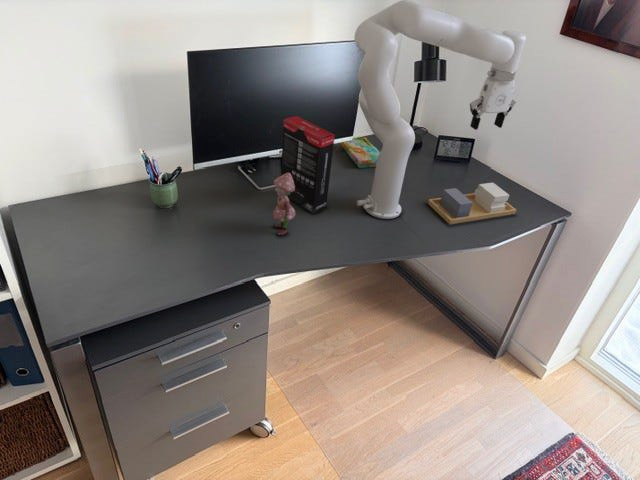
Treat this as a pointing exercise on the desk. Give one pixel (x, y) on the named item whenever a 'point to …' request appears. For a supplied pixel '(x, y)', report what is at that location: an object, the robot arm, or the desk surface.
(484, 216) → the desk tray
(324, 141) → the graphics card box
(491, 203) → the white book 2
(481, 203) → the white book
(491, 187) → the white rectangular lid
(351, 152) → the puzzle game
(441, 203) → the blue-gray box
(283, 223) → the cartoon character
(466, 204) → the grey book
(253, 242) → the desk surface
